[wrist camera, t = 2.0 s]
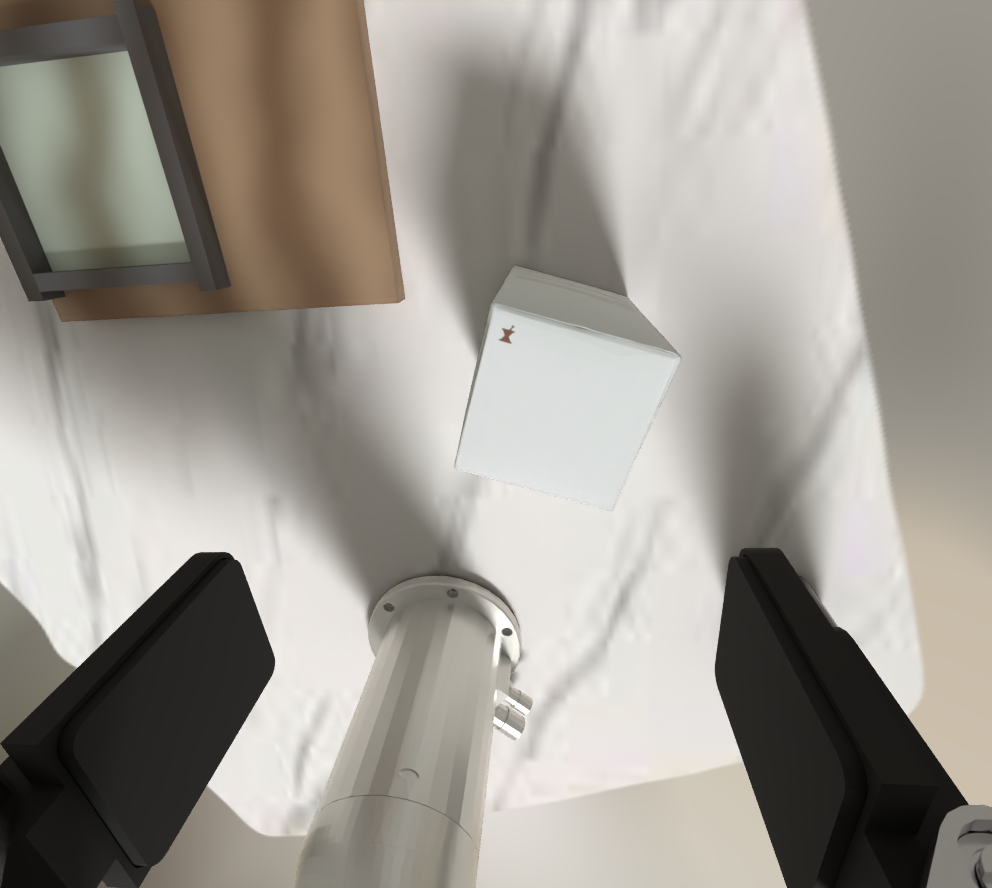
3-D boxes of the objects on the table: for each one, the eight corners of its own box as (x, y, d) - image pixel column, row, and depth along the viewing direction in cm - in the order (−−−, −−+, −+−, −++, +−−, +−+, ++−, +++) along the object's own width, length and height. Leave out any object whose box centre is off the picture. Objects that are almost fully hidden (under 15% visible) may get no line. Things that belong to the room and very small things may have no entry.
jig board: (357, -45, 24) (332, -76, 22) (405, 298, 31) (391, 307, 28) (-42, 11, 27) (-109, -11, 24) (81, 317, 33) (40, 326, 31)
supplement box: (481, 378, 33) (445, 470, 21) (513, 261, 29) (489, 295, 18) (591, 410, 33) (613, 518, 21) (634, 297, 30) (687, 353, 18)
